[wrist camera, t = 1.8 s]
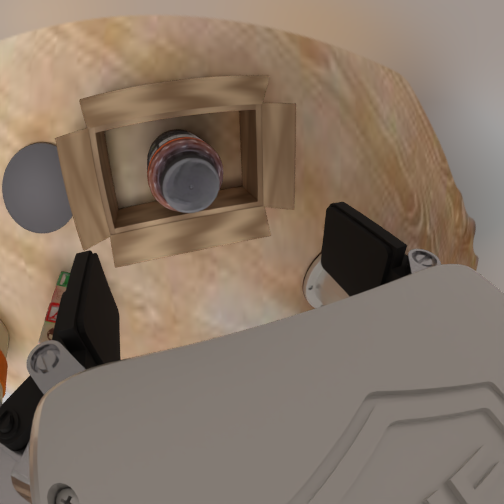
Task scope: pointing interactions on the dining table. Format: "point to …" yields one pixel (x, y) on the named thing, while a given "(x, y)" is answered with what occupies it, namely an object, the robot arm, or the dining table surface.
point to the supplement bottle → (183, 172)
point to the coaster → (36, 189)
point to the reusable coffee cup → (3, 359)
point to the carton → (154, 214)
